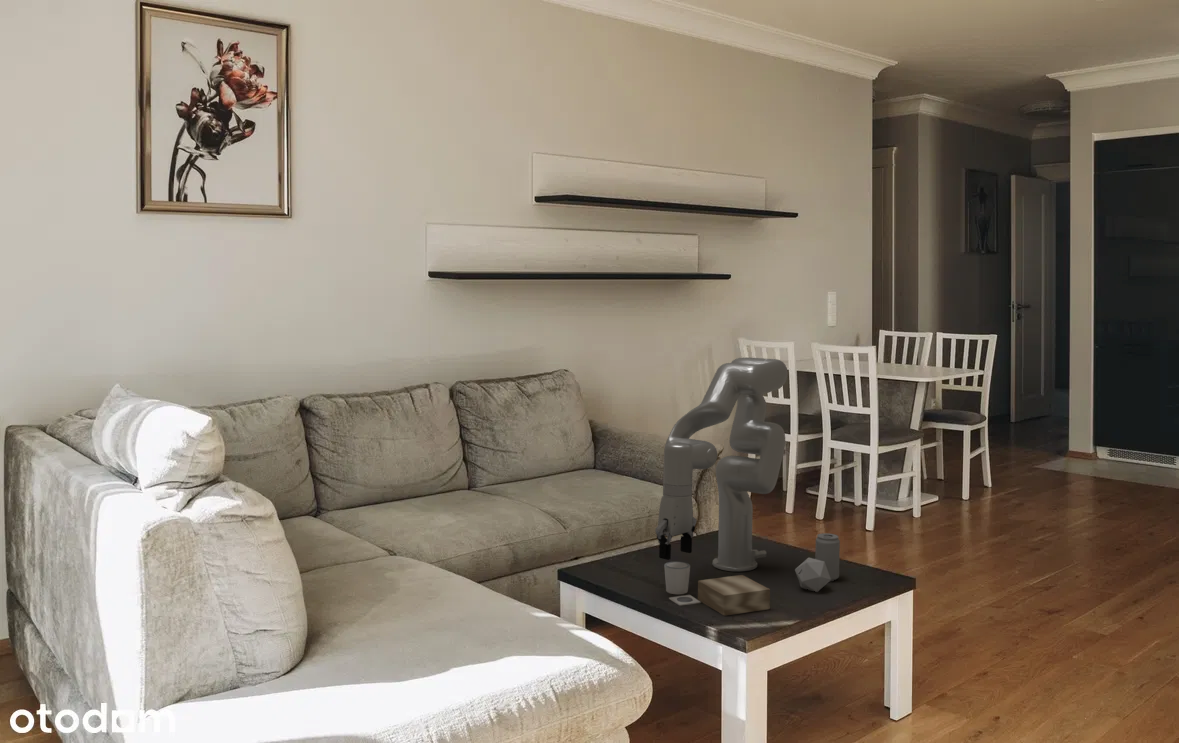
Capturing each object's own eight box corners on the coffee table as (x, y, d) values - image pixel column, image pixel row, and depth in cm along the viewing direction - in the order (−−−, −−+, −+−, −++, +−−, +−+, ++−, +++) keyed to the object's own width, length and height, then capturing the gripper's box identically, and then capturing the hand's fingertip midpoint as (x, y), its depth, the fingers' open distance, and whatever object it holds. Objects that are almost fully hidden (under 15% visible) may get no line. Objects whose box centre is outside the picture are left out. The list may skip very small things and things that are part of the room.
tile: (689, 595, 251) (689, 594, 251) (700, 602, 246) (700, 601, 246) (668, 598, 249) (668, 597, 249) (679, 605, 243) (679, 604, 243)
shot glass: (688, 595, 251) (689, 569, 251) (662, 594, 253) (662, 567, 252) (691, 587, 258) (691, 561, 257) (665, 586, 259) (665, 560, 259)
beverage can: (840, 576, 268) (841, 534, 267) (836, 583, 262) (837, 539, 261) (817, 573, 271) (818, 531, 270) (812, 580, 265) (813, 536, 264)
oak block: (741, 593, 253) (742, 574, 253) (769, 608, 241) (770, 589, 241) (697, 599, 248) (698, 580, 248) (724, 615, 236) (724, 595, 236)
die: (799, 584, 263) (786, 560, 259) (827, 569, 263) (815, 545, 258) (810, 604, 256) (797, 580, 252) (839, 588, 255) (826, 564, 251)
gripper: (683, 484, 262) (682, 547, 263) (646, 492, 248) (644, 558, 250) (707, 488, 257) (705, 552, 258) (670, 496, 244) (668, 564, 245)
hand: (675, 555), depth 254 cm, fingers open, 9 cm apart
